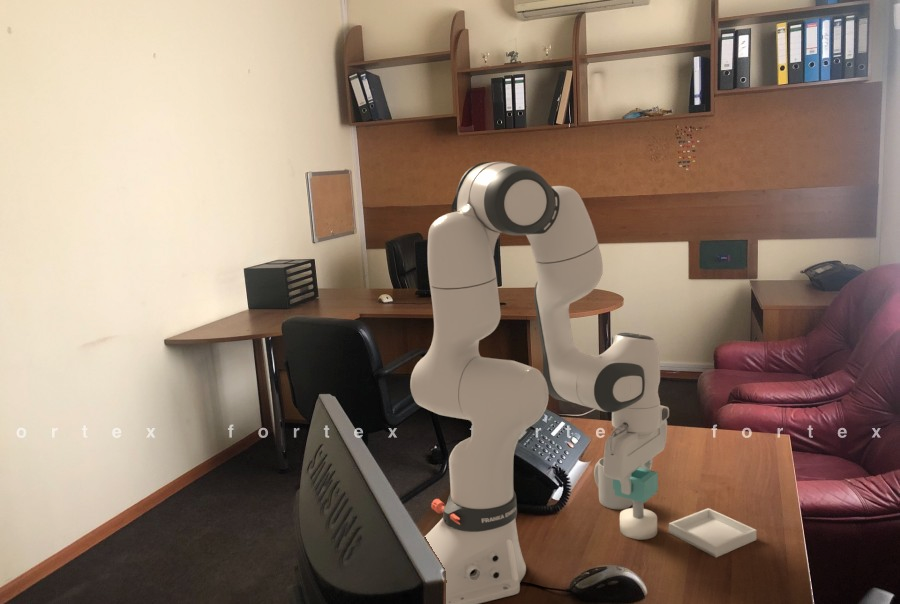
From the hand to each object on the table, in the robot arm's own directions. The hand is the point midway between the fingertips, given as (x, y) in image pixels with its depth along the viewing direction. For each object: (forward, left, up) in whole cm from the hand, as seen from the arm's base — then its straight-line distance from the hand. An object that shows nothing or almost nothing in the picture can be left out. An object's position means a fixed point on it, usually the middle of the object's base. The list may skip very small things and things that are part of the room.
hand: (635, 486), depth 133 cm
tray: (+10, -10, -9) cm, 17 cm away
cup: (+5, +13, -10) cm, 17 cm away
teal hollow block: (0, 0, -1) cm, 1 cm away
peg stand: (0, 0, -9) cm, 9 cm away
